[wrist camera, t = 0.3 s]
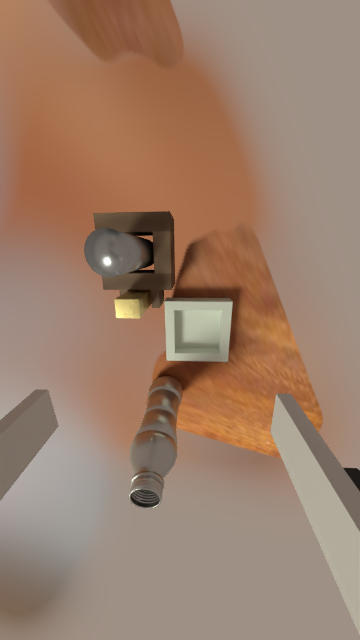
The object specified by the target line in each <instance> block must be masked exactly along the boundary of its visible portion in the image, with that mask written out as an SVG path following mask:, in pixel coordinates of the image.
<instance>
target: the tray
mask: <svg viewBox="0 0 360 640" xmlns="http://www.w3.org/2000/svg"><path fill="white" fill-rule="evenodd" d="M232 304H233V302H232V300H231V299H230V298H166V300H165V327H166V355H167V360H172V361H214V362H228V354H229V341H230V329H231V316H232Z"/></svg>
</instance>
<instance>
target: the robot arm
mask: <svg viewBox="0 0 360 640" xmlns="http://www.w3.org/2000/svg"><path fill="white" fill-rule="evenodd" d="M57 427H58V422H57V419H56V415H55V412H54V409H53V405H52V402H51V398H50V395H49V391H48V390H35V391H34V392H32V393H31V394H30V395H29V396H28V397H27V398H26V399H24V400H23V401H22V402H21V403H20V404H19V405H18V406H16V407H15V408H14V409H13V410H12V411H10V412H9V413H8V414H7V415H6V416H5V417H4V418H2V419H1V420H0V500H1V499H2V498H3V496H4V495H5V494H6V493H7V491H8V490H9V489H10V488H11V486H12V485H13V484H14V482H15V481H16V480H17V478H18V477H19V476H20V475H21V473H22V472H23V471H24V469H25V468H26V467H27V466H28V464H29V463H30V462H31V461H32V459H33V458H34V457H35V456H36V454H37V453H38V451H39V450H40V449H41V448H42V446H43V445H44V444H45V443H46V441H47V440H48V439H49V438H50V436H51V435H52V433H53V432H54V431H55V430H56V428H57ZM271 434H272V437H273V439H274V441H275V444H276V446H277V448H278V450H279V453H280V455H281V457H282V460H283V462H284V464H285V466H286V469H287V471H288V473H289V476H290V478H291V480H292V482H293V485H294V487H295V489H296V492H297V494H298V496H299V498H300V501H301V503H302V505H303V507H304V510H305V512H306V514H307V516H308V519H309V521H310V523H311V526H312V528H313V530H314V533H315V535H316V537H317V539H318V542H319V544H320V546H321V548H322V551H323V553H324V555H325V558H326V560H327V562H328V565H329V567H330V569H331V571H332V574H333V576H334V578H335V580H336V583H337V585H338V587H339V590H340V592H341V594H342V597H343V599H344V601H345V603H346V606H347V608H348V610H349V612H350V615H351V617H352V619H353V622H354V624H355V626H356V628H357V631H358V633H359V635H360V470H358V469H357V468H343V467H342V466H341V464H340V463H339V461H338V460H337V459H336V457H335V456H334V454H333V453H332V451H331V450H330V449H329V447H328V446H327V444H326V443H325V442H324V440H323V439H322V437H321V436H320V435H319V433H318V432H317V430H316V429H315V427H314V426H313V425H312V423H311V422H310V420H309V419H308V417H307V416H306V415H305V413H304V412H303V410H302V409H301V407H300V406H299V405H298V403H297V402H296V400H295V399H294V398H293V396H292V395H291V394H276V400H275V406H274V413H273V419H272V426H271Z"/></svg>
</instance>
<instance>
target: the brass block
mask: <svg viewBox="0 0 360 640" xmlns="http://www.w3.org/2000/svg"><path fill="white" fill-rule="evenodd" d="M151 304H152V301H151V290H129V291H128V292H126V293H124V294H122V295H121V296H119V297H117V298H116V299H115V309H116V317H117V318H141V316H142V315H143V314H144V312H145V311H146V310H147V309H148V308H149V306H150V305H151Z"/></svg>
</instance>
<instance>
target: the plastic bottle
mask: <svg viewBox="0 0 360 640" xmlns="http://www.w3.org/2000/svg"><path fill="white" fill-rule="evenodd" d="M182 396H183V392H182V386H181V384H180V383H179V381H178V380H176V379H175V378H173V377H170V376H162V377H159V378H157V379H156V380H154V382H153V383H152V385H151V386H150V388H149V393H148V403H147V408H146V413H145V415H144V418H143V421H142V423H141V426H140V428H139V430H138V432H137V434H136V436H135V438H134V440H133V442H132V445H131V447H130V462H131V465H132V468H133V471H134V473H135V475H134V476H133V478H132V482H131V489H130V493H129V500H130V502H131V503H132V504H134V505H135V506H137V507H139V508H143V509H152V508H155V507H157V506H158V505H159V504H160V503H161V499H162V490H163V488H164V480H163V478H164V477H165V476H166V475H167V474H168V473H169V471H170V470H171V469H172V467H173V465H174V463H175V460H176V458H177V439H176V438H177V437H176V422H177V414H178V409H179V405H180V403H181V399H182Z"/></svg>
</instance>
